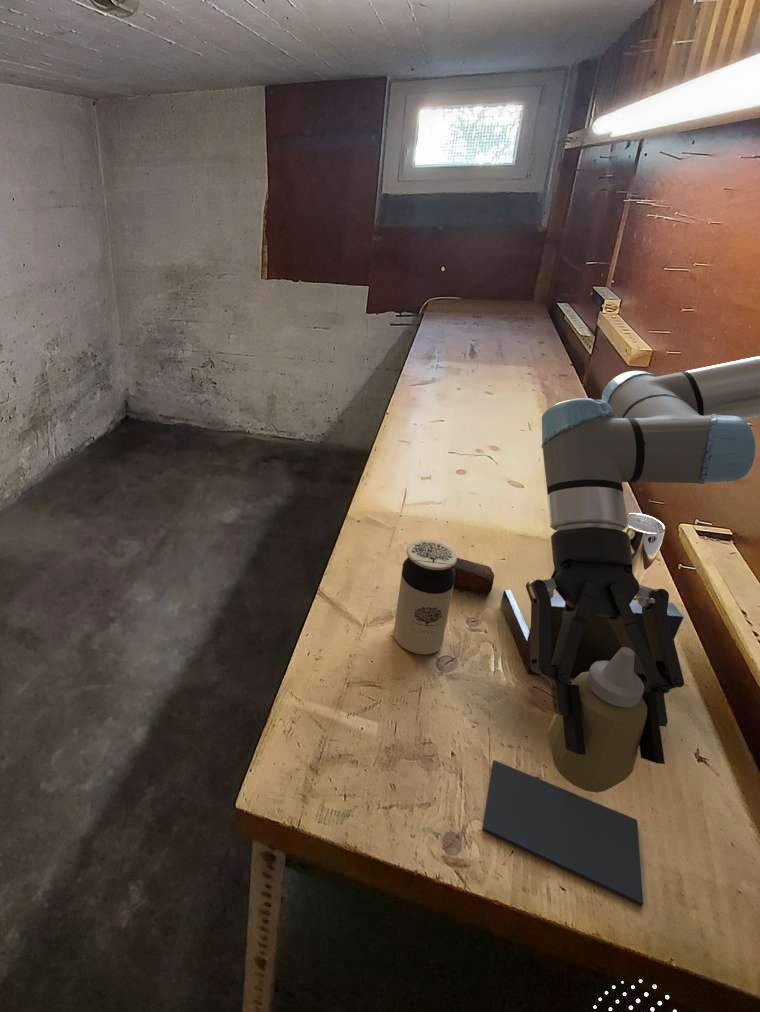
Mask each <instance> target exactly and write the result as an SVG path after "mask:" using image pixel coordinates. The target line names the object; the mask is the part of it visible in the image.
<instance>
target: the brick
mask: <svg viewBox="0 0 760 1012" xmlns="http://www.w3.org/2000/svg"><path fill="white" fill-rule="evenodd" d="M453 568H454V570H455V574H456V576H455V581H454V586H453V588H456V589H459V590H462V591H466V592H469V593H472V594H476V595H480V596H483V597H487V596H489V594H491V592H492V590H493V585H494V579H495V573H494V572H493V569H492V568H491V567H490V566H488V565H485V564H481V563H478V562H475V561H471V560H468V559H463V558H460V557H457V561H456V563H455V565H454V566H453Z"/></svg>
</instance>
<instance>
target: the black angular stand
mask: <svg viewBox="0 0 760 1012" xmlns="http://www.w3.org/2000/svg"><path fill="white" fill-rule="evenodd" d="M553 594H554V595H553V597H552V598H551V607H552V617H551V662H552V658H553V654H554V651H555V647H556V643H557V640H558V636H559V632H560V628H561V625H562V621H563V618H562V614H563V610H564V607H565V603H566V602H565V601H564V600H563V598H562V597H561V596H560V595H559V593H553ZM629 605H630V607H631V609H632V611H633V613H634V615H635V618H636V621H637V622H636V625H637V627H638V629H639V632H640V634H641V636H642V638H643V640H644V642H645V644H646V646H647V648H648V650H649V652H650V654H651V651H650V646H649V642H648V638H647V633H646V629H645V625H644V620H643V615H642V606H641V605H640V604H638V599H634V600H632V601H631V603H630V604H629ZM519 607H520V606H519V605H518V602H517V600H516V598H515V596H514V593H513V591H512V589H504V590H503V593H502V597H501V601H500V605H499V608H500V610H501V612H502V615H503V617H504V620H505V622H506V625H507V627H508V630H509V632H510V635H511V637H512V640H513V642H514V645H515V647H516V649H517V652H518V654H519V657H520V660H521V662H522V664H523V666H524V669H525V672H526V674H527V675H533V676H541V675H540V674H538V673H535V672H533V671H532V670H531V668H530V650H531V627H530V628H529V627H528V625H527V623H526V619H525V618H524V616H523V614H522V611H521V609H520V608H519ZM667 614H668V618H669V622H670V626H671V630H672V634H673V638H674V639H676V636H677V634H678V631H679V629H680V627H681V624H682V623H683V620H684V616H683V614H682V613H681V612H680V610H678V608H677V606H676V605H675V604H674V603H673V602H668V608H667ZM620 648H622V646H621V644H620V642H619V639H618V637H617V635H616V633H615V631H614V629H613V627H612V626H611V625H610V624H609V623H608V621H607V619H606V617H600V616H597V615H589V617H588V620H587V621H586V622H585V624H584V627H583V631H582V635H581V639H580V643H579V647H578V651H577V654H576V658H575V662H574V666H573V670H572V674H571V678H570V679H573V680H574V679H575V678H576V677H577V676H578V675H579V674H581V673H583V672H588V671H589V670H590V667H591V665H592V664H594V663H595V662H597V661H603V660H605V661H610V660H611V659H612V658H613V657H614V655H615V654H616V653H617V652H618V651H619V650H620ZM651 657H652V655H651Z"/></svg>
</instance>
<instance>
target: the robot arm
mask: <svg viewBox="0 0 760 1012" xmlns="http://www.w3.org/2000/svg"><path fill="white" fill-rule="evenodd" d="M756 418H760V355H758V356H753V357H748V358H742V359H739V360H734V361H729V362H724V363H720V364H719V363H717V364H714V365H710V366H704V367H699V368H695V369H689V370H685V371H680V372H674V373H669V374H665V375H656V374H654V373H651V372H648V371H644V370H630V371H626V372H622V373H620V374H619V375H617V376H615V377H614V378H612V379H611V380H610V381H609V382H608V383H607V384H606V386H605V387H604V389H603V391H602V395H601V399H593V398H588V397H587V398H586V397H585V398H584V397H583V398H574V399H568V400H563V401H560V402H558V403H555V404H553V405H551V406H550V407H548V408H547V409H546V410H545V411H544V412H543V414H542V416H541V444H540V446H541V449H542V457H543V465H544V474H545V483H546V484H545V485H546V492H547V494H546V495H547V496H546V498H547V509H548V519H549V528H550V529H552V530H553V531H554V532H553V533H552V534H551V535H550V543H551V555H552V562H553V567H554V569H553V573H552V574H551V576H550V578H548V579H534V580H531V581H528V582H526V584H525V589H526V591H527V594H528V598H529V601H530V628H531V650H530V668H531V670H532V671H533V672H535V673H538V674H540V675H539V676H542V677H544V678H547V680H548V681H549V682H550V688H551V689H550V690H551V700H552V701H551V702H552V709H553V712H554V713H555V714H558V715H563V725H564V736H565V748H566V749H567V750H569V751H572V752H574V753H576V754H582V755H586V753H585V743H584V733H583V723H582V713H581V703H580V692H579V685H575V684H572V683H570V680H571V679H572V678H571V674H572V670H573V666H574V662H575V658H576V654H577V651H578V647H579V643H580V639H581V635H582V631H583V627H584V624H585V622H586V621H587V620H588V617H589V615H597V616H600V617H606V619H607V621H608V623H609V624H610V625H611V626H612V627H613V629H614V631H615V633H616V635H617V637H618V639H619V642H620V644H621V646H622V647H627V648H630V649H631V650H633V651H634V653H635V654H634V673H635V674H636V675H637V676H638V677H639V678H640V679H641V681H642V683H643V684H644V693H643V695H642V697H643V699H644V701H645V703H646V705H647V717H646V721H645V725H644V729H643V733H642V737H641V741H640V745H639V754H640V755H639V756H640V759H643V760H645V761H648V762H652V763H654V764H659V765H666V763H665V754H664V748H663V740H662V739H663V738H662V733H661V727H662V728H663V727H665V728H666V727H667V726H668V715H667V707H666V700H665V694H668V693H669V692H670V691H671V690H673V689H675V688H676V689H677V688H679V689H680V688H682V687H684V685H685V680H684V676H683V675H684V674H683V671H682V667H681V663H680V659H679V654H678V651H677V647H676V642H675V638H673V634H672V630H671V626H670V622H669V618H668V614H667V608H668V603H669V599H670V594H669V591H668V590H666V589H664V588H657V589H656V588H651V587H647V586H645V585H641V584H640V585H639V583H638V581H637V579H636V578H635V577H634V575H633V572H632V565H633V560H632V552H631V545H630V538H629V535H628V534H627V533H626V532H624V531H622V530H624V529H625V528H626V527H627V526H628V522H627V515H626V513H627V510H626V508H627V507H626V503H625V502H626V501H625V497H624V486H623V483H660V484H661V483H664V484H665V483H666V484H667V483H670V484H672V483H673V484H698V485H704V484H708V483H709V484H710V483H723V482H724V483H727V482H736V481H739V480H741V479H743V478H744V477H746V476H747V475H748V473H749V472H750V471H751V469H752V467H753V465H754V460H755V456H756V440H755V435H754V431H753V429H752V427H751V426H750V424H749V423H748V422H747V421H746V420H750V419H756ZM554 590H555V592H557V594H559V595H560V596H561V597H562V598H563V600H564V601H565V602H566V603H565V607H564V610H563V614H562V618H563V621H562V625H561V628H560V632H559V636H558V640H557V643H556V647H555V651H554V654H553V658H552V662H551V617H552V607H551V598H552V597H553V595H554V594H555V593H554ZM635 596H637V598H636V599H637V600H638V604H640V605H641V606H642V615H643V620H644V625H645V629H646V633H647V638H648V642H649V646H650V651H651V654H650V652H649V650H648V648H647V646H646V644H645V642H644V640H643V638H642V636H641V634H640V632H639V629H638V627H637V625H636V622H637V621H636V618H635V615H634V613H633V611H632V609H631V607H630V605H629V604H630V603H631V601H632V600H633V599H634V597H635ZM634 600H635V599H634ZM651 655H652V657H651ZM555 714H554V715H555Z"/></svg>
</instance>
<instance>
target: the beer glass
mask: <svg viewBox="0 0 760 1012" xmlns="http://www.w3.org/2000/svg"><path fill="white" fill-rule="evenodd" d="M626 515H627V522H628V526H627V527H626V528H625V529H624V530H622V531H624V532H626V533H627V534H628V535H629V538H630V545H631V552H632V560H633V565H632V572H633V575H634V577H635V578H636V579H637V581H638V583H639V585H641V583H642V580H643V578H644V576H645V575H646V573H647V572H648V570H649V569H650V567H651V566H652V565H653V563H654V562H655V560H656V558H657V557H658V555H659V552H660V550H661V547H662V544H663V540H664V536H665V532H666V530H667V528H666V525H665V524H664V523H663V521H660V520H659V519H657V518H655V517H654V516H650V515H647V514H644V513H638V512H626ZM637 599H638V598H637V596H635V597H634V599H633V600H637Z"/></svg>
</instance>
